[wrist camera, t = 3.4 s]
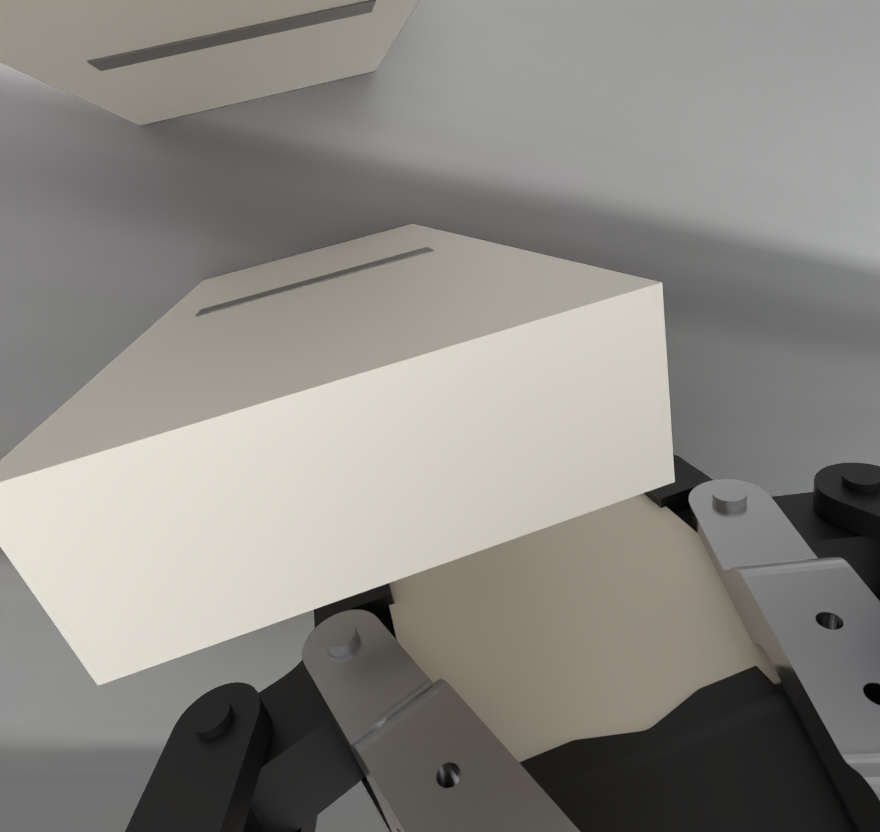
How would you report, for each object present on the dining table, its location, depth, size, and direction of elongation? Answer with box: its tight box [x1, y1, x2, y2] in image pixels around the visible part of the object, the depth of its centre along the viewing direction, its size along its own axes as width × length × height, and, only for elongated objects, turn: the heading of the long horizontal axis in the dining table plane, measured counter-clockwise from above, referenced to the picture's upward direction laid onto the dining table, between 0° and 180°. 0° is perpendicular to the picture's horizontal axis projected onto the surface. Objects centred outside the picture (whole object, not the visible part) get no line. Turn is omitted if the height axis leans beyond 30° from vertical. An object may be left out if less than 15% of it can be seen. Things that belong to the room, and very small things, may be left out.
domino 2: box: [389, 493, 782, 762], centre depth 11 cm, size 5×2×10 cm, turn 103°
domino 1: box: [0, 224, 675, 686], centre depth 9 cm, size 5×2×10 cm, turn 103°
